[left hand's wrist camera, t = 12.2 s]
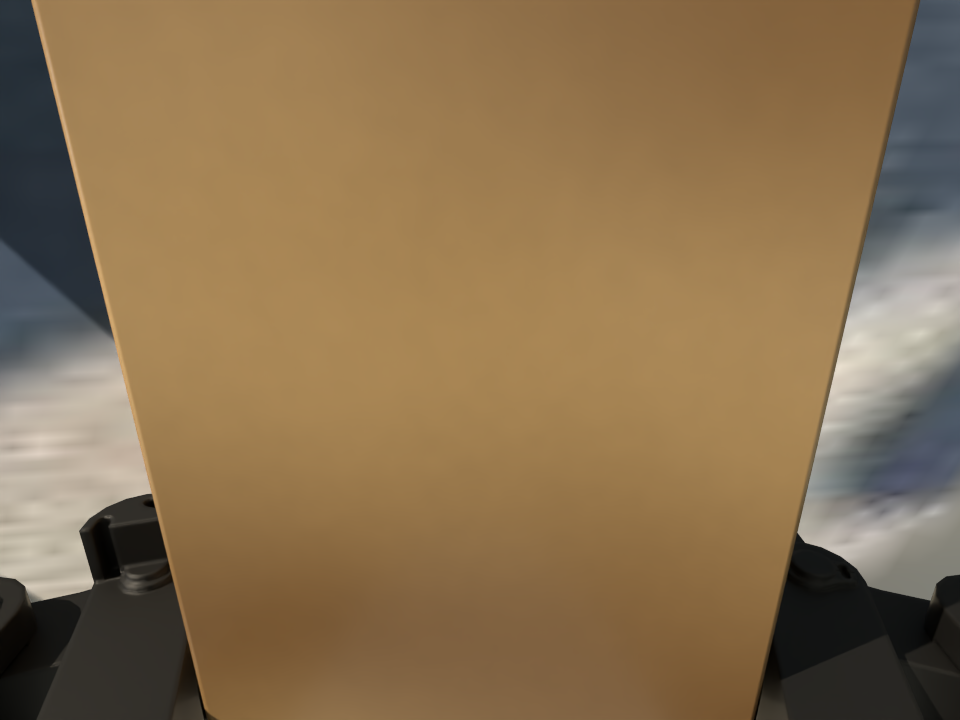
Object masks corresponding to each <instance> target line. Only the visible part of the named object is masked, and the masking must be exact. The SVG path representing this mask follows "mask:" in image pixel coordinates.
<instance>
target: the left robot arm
mask: <svg viewBox="0 0 960 720" xmlns="http://www.w3.org/2000/svg"><path fill="white" fill-rule="evenodd" d="M79 532H80V535H81V539H82V542H83V546H84V549H85V553H86V556H87V559H88V563H89V566H90V570H91V573H92V577H93V580H94V585H93V587H92V589H91V590H87V591H83V592H80V593H76V594H71V595H66V596H62V597H57V598H52V599H48V600H43V601H38V602H34V603H30V600H29V597H28V594H27V591H26V588H25V586H24V585H22V584H21V583H20V582H19V581H17V580H16V579H11V578H2V577H0V720H207V716H206V712H205V708H204V704H203V700H202V696H201V692H200V688H199V684H198V680H197V676H196V671H195V667H194V663H193V659H192V655H191V651H190V647H189V643H188V639H187V635H186V631H185V626H184V622H183V618H182V614H181V610H180V606H179V602H178V598H177V594H176V590H175V586H174V582H173V577H172V573H171V569H170V565H169V561H168V557H167V553H166V549H165V545H164V541H163V537H162V532H161V528H160V524H159V520H158V516H157V512H156V508H155V504H154V500H153V496H152V494H146V495H141V496H137V497H133V498H129V499H125V500H123V501H121V502H118V503H116V504H113V505H111V506H109V507H106V508H105V509H103V510H102V511H100V512H99V513H97V514H96V515H94V516H93V517H91V518H90V519H89V520H88V521H87V522H86V523H85V525H84V526H83V527H82V528H81V529H80V531H79ZM754 720H960V575H954V576H947V577H945V578H943V579H942V580H941V581H939V582H938V583H937V584H936V587H935V590H934V593H933V596H932V598H931V601H929V600H925V599H920V598H915V597H911V596H906V595H901V594H897V593H892V592H887V591H883V590H879V589H875V588H872V587H868V586H867V583H866V581H865V580H864V579H863V577H862V576H861V574H860V573H859V572H858V570H857V569H856V568H855V567H854V566H852V565H851V564H850V563H848V562H847V561H846V560H844V559H843V558H842V557H840V556H838V555H836V554H834V553H832V552H830V551H828V550H826V549H824V548H822V547H818V546H814V545H811V544H807V543H805V542H804V541H803V540H802V538H801V537H800V536H799V534H798V533H797V536H796V540H795V544H794V549H793V553H792V557H791V562H790V566H789V570H788V575H787V579H786V583H785V587H784V592H783V596H782V600H781V605H780V609H779V613H778V618H777V622H776V626H775V631H774V635H773V639H772V644H771V648H770V652H769V657H768V661H767V665H766V670H765V674H764V678H763V683H762V687H761V691H760V696H759V700H758V704H757V709H756V713H755V717H754Z"/></svg>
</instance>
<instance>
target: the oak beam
mask: <svg viewBox="0 0 960 720" xmlns="http://www.w3.org/2000/svg"><path fill="white" fill-rule="evenodd" d="M31 1H32V5H33V9H34V13H35V17H36V21H37V26H38V30H39V34H40V38H41V42H42V46H43V50H44V54H45V58H46V62H47V66H48V70H49V75H50V79H51V83H52V87H53V91H54V95H55V99H56V103H57V107H58V111H59V115H60V120H61V124H62V128H63V132H64V136H65V140H66V144H67V148H68V152H69V156H70V160H71V165H72V169H73V173H74V177H75V181H76V185H77V189H78V193H79V197H80V201H81V205H82V209H83V214H84V218H85V222H86V226H87V230H88V234H89V238H90V242H91V246H92V250H93V254H94V259H95V263H96V267H97V271H98V275H99V279H100V283H101V287H102V291H103V295H104V299H105V304H106V308H107V312H108V316H109V320H110V324H111V328H112V332H113V336H114V340H115V344H116V348H117V353H118V357H119V361H120V365H121V369H122V373H123V377H124V381H125V385H126V389H127V393H128V398H129V402H130V406H131V410H132V414H133V418H134V422H135V426H136V430H137V434H138V438H139V443H140V447H141V451H142V455H143V459H144V463H145V467H146V471H147V475H148V479H149V483H150V487H151V492H152V496H153V500H154V504H155V508H156V512H157V516H158V520H159V524H160V528H161V532H162V537H163V541H164V545H165V549H166V553H167V557H168V561H169V565H170V569H171V573H172V577H173V582H174V586H175V590H176V594H177V598H178V602H179V606H180V610H181V614H182V618H183V622H184V626H185V631H186V635H187V639H188V643H189V647H190V651H191V655H192V659H193V663H194V667H195V671H196V676H197V680H198V684H199V688H200V692H201V696H202V700H203V704H204V708H205V712H206V716H207V720H754V717H755V713H756V709H757V704H758V700H759V696H760V691H761V687H762V683H763V678H764V674H765V670H766V665H767V661H768V657H769V652H770V648H771V644H772V639H773V635H774V631H775V626H776V622H777V618H778V613H779V609H780V605H781V600H782V596H783V592H784V587H785V583H786V579H787V575H788V570H789V566H790V562H791V557H792V553H793V549H794V544H795V540H796V536H797V531H798V527H799V523H800V518H801V514H802V510H803V505H804V501H805V497H806V492H807V488H808V484H809V479H810V475H811V471H812V466H813V462H814V458H815V453H816V449H817V445H818V440H819V436H820V432H821V427H822V423H823V419H824V414H825V410H826V406H827V401H828V397H829V393H830V388H831V384H832V380H833V375H834V371H835V367H836V362H837V358H838V354H839V349H840V345H841V341H842V336H843V332H844V328H845V323H846V319H847V315H848V310H849V306H850V302H851V297H852V293H853V289H854V284H855V280H856V276H857V272H858V267H859V263H860V259H861V254H862V250H863V246H864V241H865V237H866V233H867V228H868V224H869V220H870V215H871V211H872V207H873V202H874V198H875V194H876V189H877V185H878V181H879V176H880V172H881V168H882V163H883V159H884V155H885V150H886V146H887V142H888V137H889V133H890V129H891V124H892V120H893V116H894V111H895V107H896V103H897V98H898V94H899V90H900V85H901V81H902V77H903V72H904V68H905V64H906V59H907V55H908V51H909V46H910V42H911V38H912V33H913V29H914V25H915V20H916V16H917V12H918V7H919V3H920V0H31Z"/></svg>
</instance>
